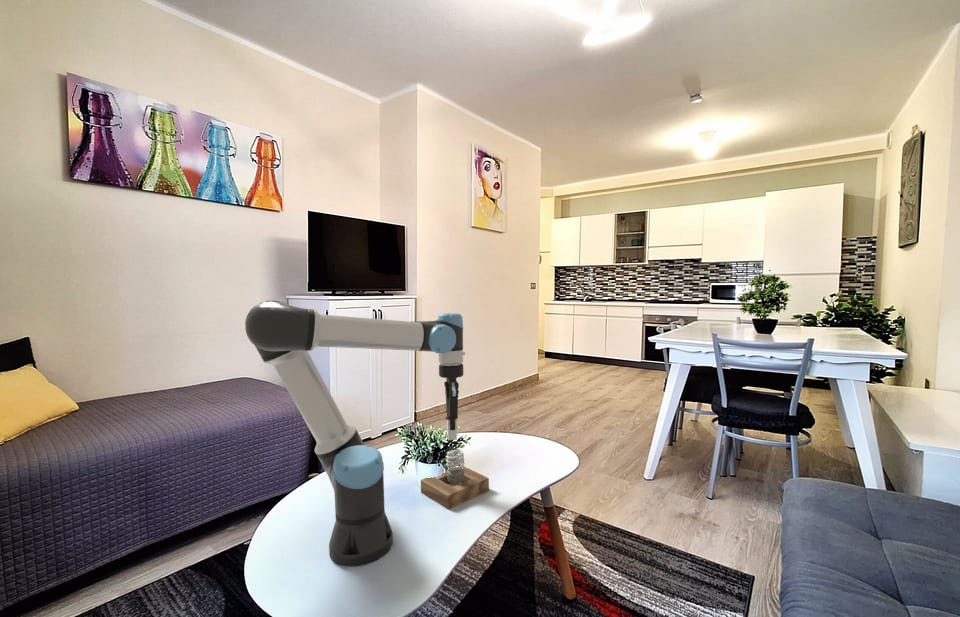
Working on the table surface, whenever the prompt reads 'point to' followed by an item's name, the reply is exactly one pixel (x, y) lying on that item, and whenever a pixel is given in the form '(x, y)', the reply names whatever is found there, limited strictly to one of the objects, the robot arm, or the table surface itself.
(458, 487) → the socket board
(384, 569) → the table surface
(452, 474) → the light bulb
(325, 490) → the table surface
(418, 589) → the table surface
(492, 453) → the table surface
